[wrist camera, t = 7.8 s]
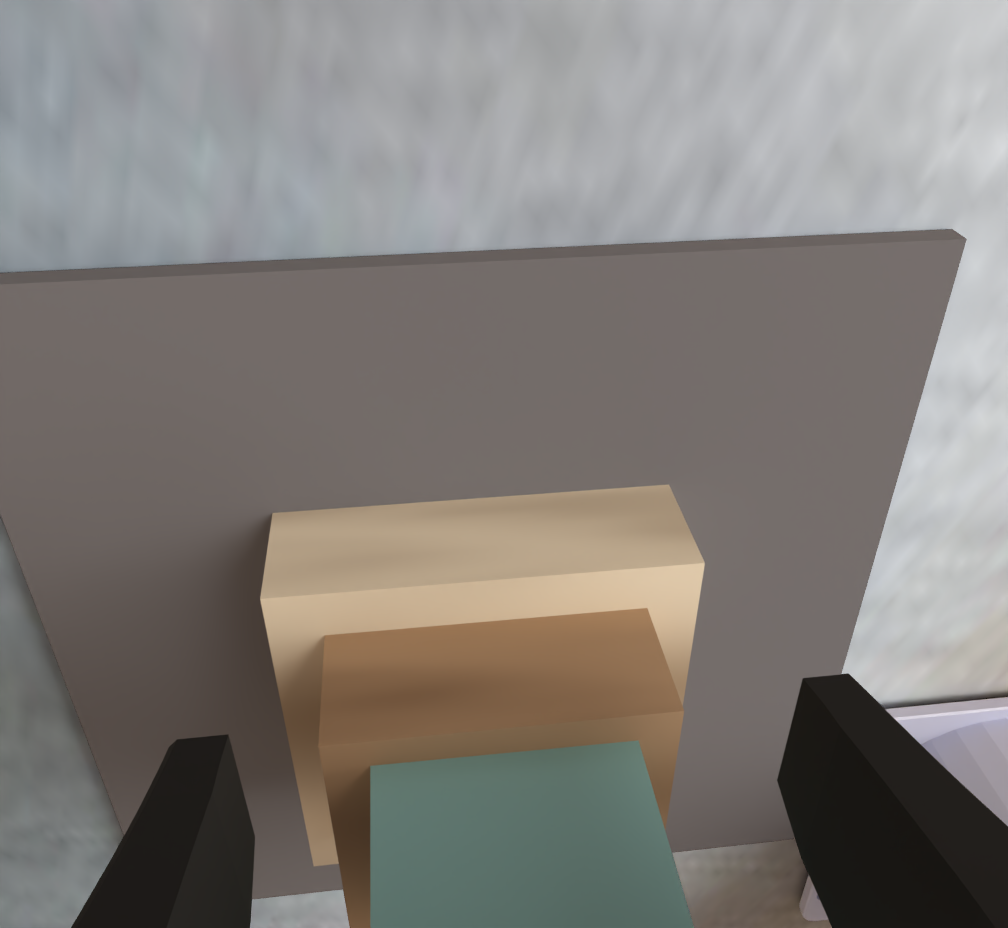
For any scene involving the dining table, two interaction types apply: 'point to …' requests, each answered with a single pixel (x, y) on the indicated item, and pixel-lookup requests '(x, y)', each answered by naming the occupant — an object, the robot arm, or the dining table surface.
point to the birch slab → (464, 586)
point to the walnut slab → (486, 706)
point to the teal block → (522, 842)
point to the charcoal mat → (456, 467)
